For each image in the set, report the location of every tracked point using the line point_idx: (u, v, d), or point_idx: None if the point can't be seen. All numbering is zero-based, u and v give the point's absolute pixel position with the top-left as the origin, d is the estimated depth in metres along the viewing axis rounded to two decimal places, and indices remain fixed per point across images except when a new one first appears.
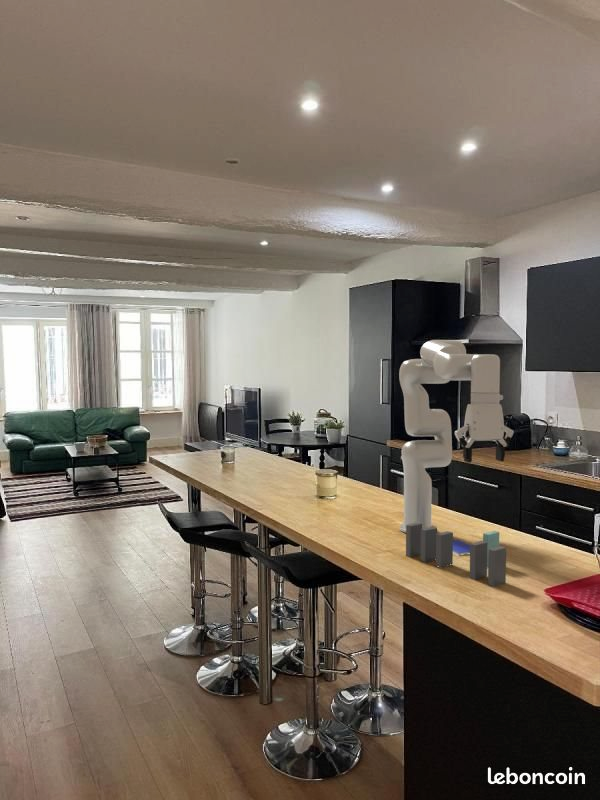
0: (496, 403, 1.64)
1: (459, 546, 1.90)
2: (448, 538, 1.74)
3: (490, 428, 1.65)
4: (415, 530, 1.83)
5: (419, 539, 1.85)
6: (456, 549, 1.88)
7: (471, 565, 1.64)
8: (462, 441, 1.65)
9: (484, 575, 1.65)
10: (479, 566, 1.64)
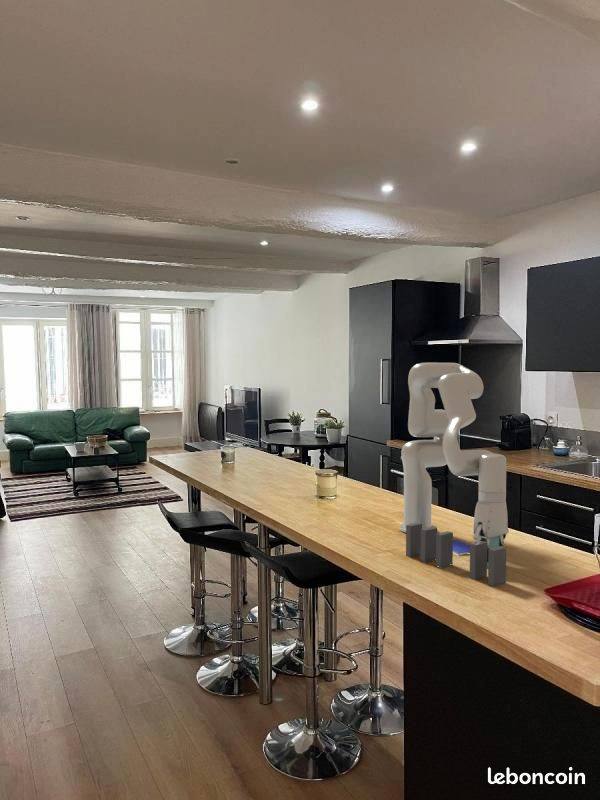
0: (505, 501, 1.72)
1: (458, 546, 1.90)
2: (448, 538, 1.74)
3: (499, 525, 1.73)
4: (415, 530, 1.83)
5: (419, 539, 1.85)
6: (456, 549, 1.88)
7: (471, 565, 1.64)
8: None
9: (484, 575, 1.65)
10: (479, 566, 1.64)
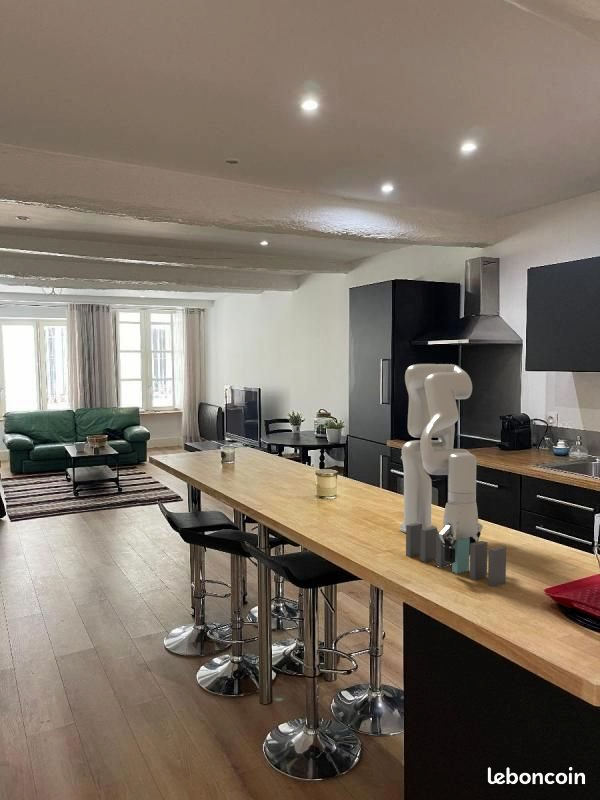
0: (475, 502, 1.67)
1: None
2: None
3: (469, 526, 1.68)
4: (415, 530, 1.83)
5: (419, 539, 1.85)
6: None
7: (471, 565, 1.64)
8: (447, 543, 1.65)
9: (484, 575, 1.65)
10: (479, 566, 1.64)
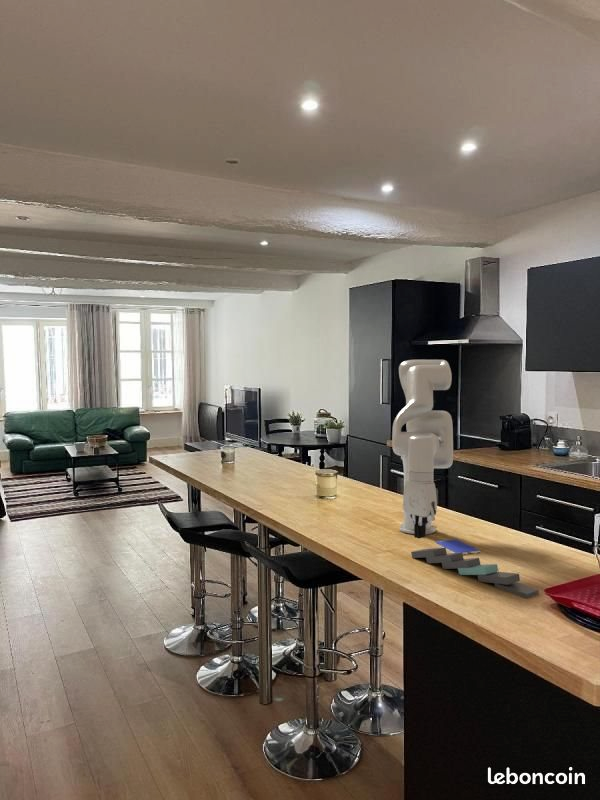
0: None
1: (457, 546, 1.91)
2: None
3: None
4: None
5: None
6: (455, 549, 1.88)
7: (488, 577, 1.59)
8: None
9: None
10: None
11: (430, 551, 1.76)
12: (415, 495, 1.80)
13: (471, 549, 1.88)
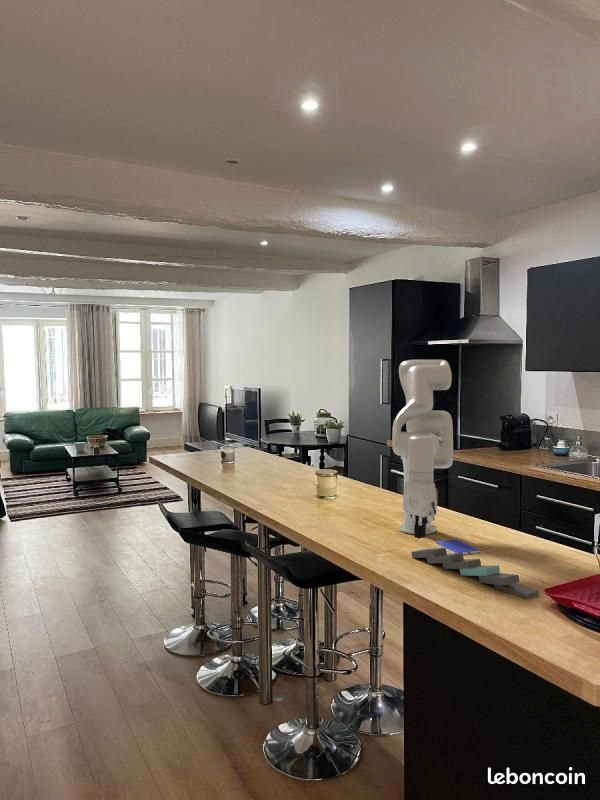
0: None
1: (457, 546, 1.91)
2: None
3: None
4: None
5: None
6: (455, 549, 1.88)
7: (488, 579, 1.58)
8: None
9: None
10: None
11: (430, 551, 1.75)
12: (415, 495, 1.80)
13: (471, 549, 1.88)
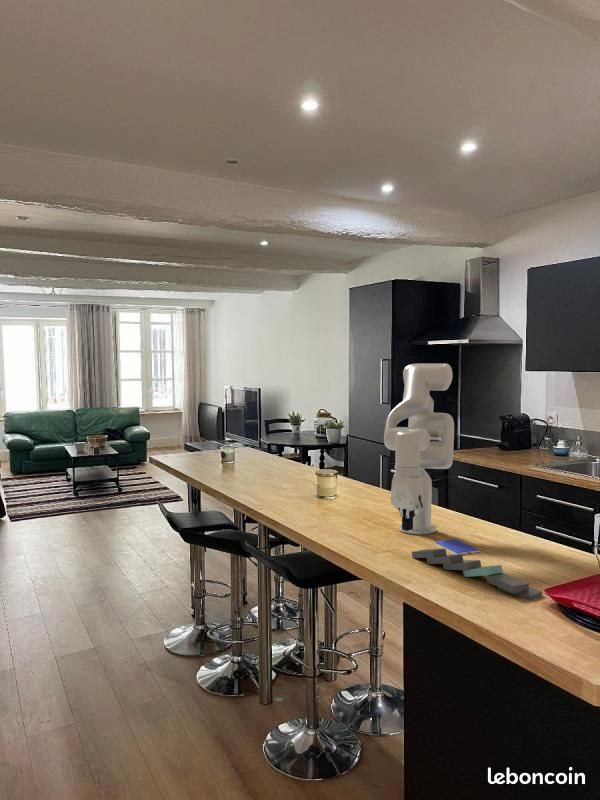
0: None
1: (457, 546, 1.91)
2: None
3: None
4: None
5: None
6: (455, 549, 1.88)
7: (496, 581, 1.55)
8: None
9: None
10: None
11: (429, 552, 1.75)
12: (402, 489, 1.85)
13: (471, 549, 1.88)
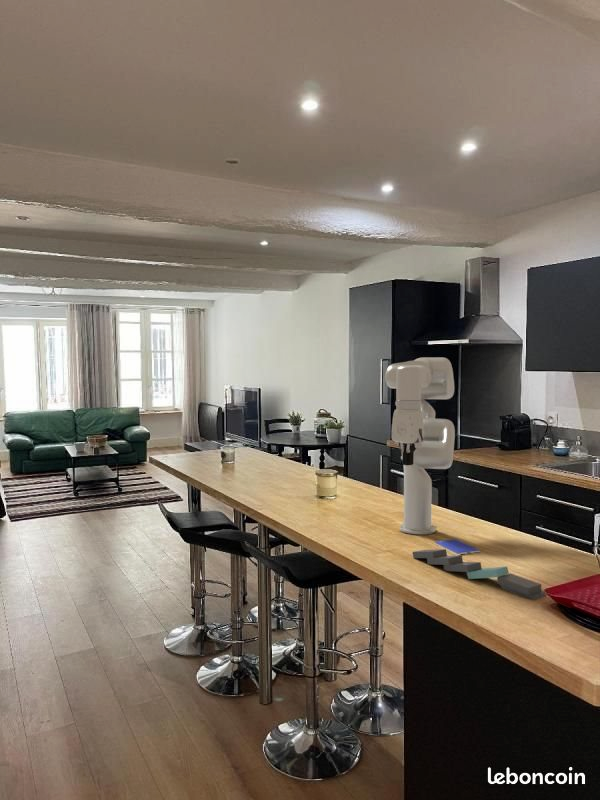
0: None
1: (457, 546, 1.91)
2: None
3: None
4: None
5: None
6: (455, 549, 1.88)
7: (508, 583, 1.54)
8: None
9: None
10: None
11: (429, 552, 1.75)
12: (403, 423, 1.86)
13: (471, 549, 1.88)
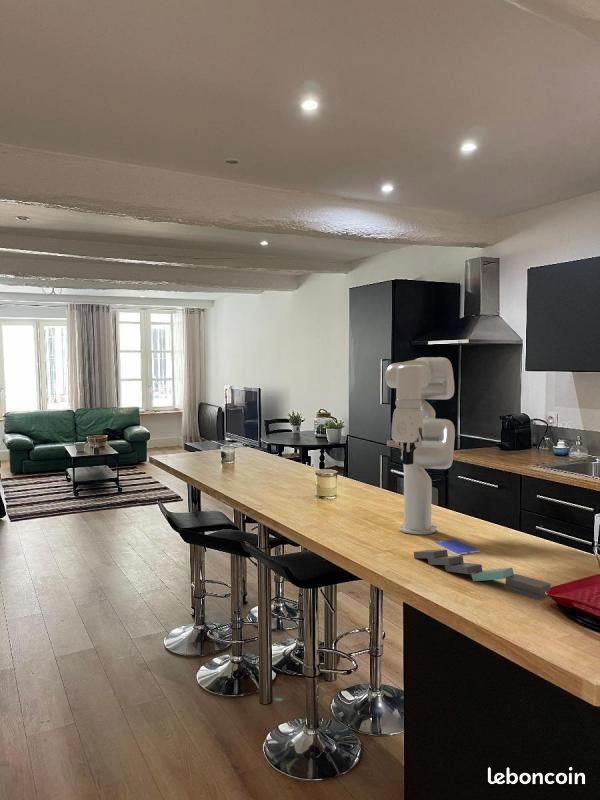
0: None
1: (457, 546, 1.91)
2: None
3: None
4: None
5: None
6: (455, 549, 1.88)
7: (518, 583, 1.54)
8: None
9: None
10: None
11: (430, 552, 1.75)
12: (403, 422, 1.86)
13: (471, 549, 1.88)
